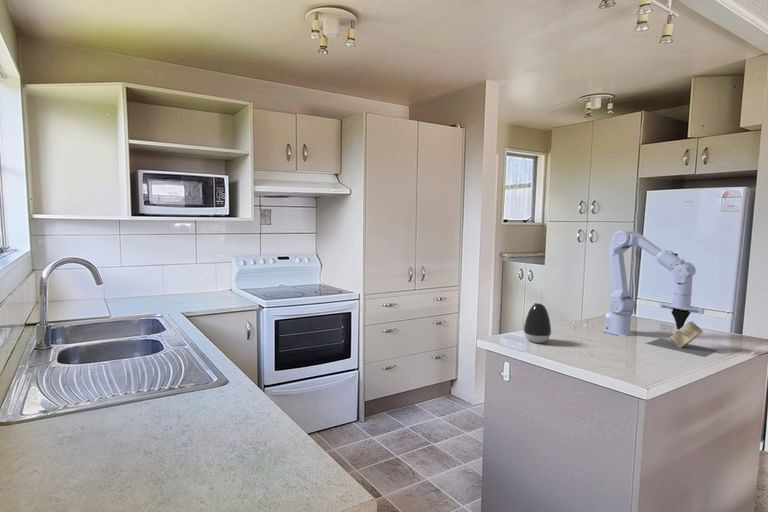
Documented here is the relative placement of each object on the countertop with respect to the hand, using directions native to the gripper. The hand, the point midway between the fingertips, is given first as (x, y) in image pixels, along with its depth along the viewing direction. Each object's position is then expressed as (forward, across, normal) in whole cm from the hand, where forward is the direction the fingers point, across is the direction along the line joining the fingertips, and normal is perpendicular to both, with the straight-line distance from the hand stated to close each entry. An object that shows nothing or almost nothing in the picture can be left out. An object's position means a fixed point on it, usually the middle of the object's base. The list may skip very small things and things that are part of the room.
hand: (679, 329), depth 173 cm
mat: (+7, -1, 0) cm, 7 cm away
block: (+5, +1, 0) cm, 5 cm away
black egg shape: (+7, +36, +40) cm, 54 cm away
